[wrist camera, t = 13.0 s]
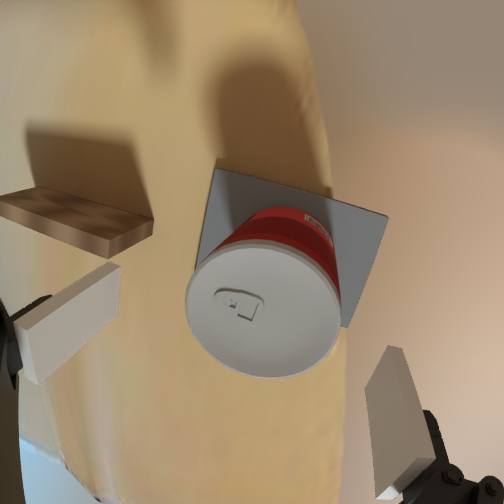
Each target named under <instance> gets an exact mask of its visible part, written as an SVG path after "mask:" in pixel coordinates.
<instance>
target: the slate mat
mask: <svg viewBox="0 0 504 504" xmlns="http://www.w3.org/2000/svg"><path fill="white" fill-rule="evenodd" d="M271 207H292V208H295V209H299V210H302V211H304V212H306V213H308V214H310V215H312V216H313V217H314V218H316V219H317V220H318V221H319V222H320V223H321V224H322V225H323V226H324V227H325V228H326V230H327V231H328V233H329V235H330V236H331V238H332V241H333V244H334V248H335V255H336V262H337V270H338V278H339V286H340V295H341V311H342V318H341V325H340V326H342V327H345V328H348V326H349V323H350V321H351V319H352V316H353V314H354V312H355V309H356V306H357V304H358V302H359V299H360V297H361V294H362V292H363V289H364V287H365V284H366V281H367V279H368V276H369V273H370V271H371V268H372V265H373V263H374V260H375V257H376V254H377V251H378V248H379V245H380V243H381V240H382V237H383V234H384V231H385V228H386V225H387V222H388V219H389V218H388V217H387V216H386V215H383V214H380V213H377V212H374V211H370V210H367V209H364V208H361V207H358V206H355V205H351V204H348V203H345V202H342V201H338V200H335V199H332V198H328V197H325V196H322V195H318V194H315V193H311V192H308V191H304V190H301V189H297V188H294V187H290V186H286V185H283V184H279V183H275V182H271V181H267V180H264V179H260V178H256V177H252V176H248V175H244V174H240V173H236V172H232V171H228V170H223V169H219V168H217V169H215V172H214V177H213V181H212V186H211V191H210V196H209V201H208V206H207V211H206V216H205V221H204V227H203V232H202V237H201V242H200V248H199V253H198V259H197V265H196V269H197V267H198V266H199V265H200V263H201V262H202V261H203V260H204V259H205V258H206V257H207V256H208V255H209V254H210V253H211V252H212V251H213V250H214V249H215V248H216V247H217V246H218V245H220V244H221V243H222V242H223V241H224V240H225V239H226V238H227V237H228V236H230V235H231V234H232V233H233V232H234V231H235V230H236V229H237V228H238V227H240V226H241V225H242V224H243V223H244V222H245V221H246V220H248V219H249V218H250V217H251V216H252V215H254V214H256V213H257V212H259V211H261V210H264V209H268V208H271Z"/></svg>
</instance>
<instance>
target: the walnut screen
mask: <svg viewBox="0 0 504 504" xmlns="http://www.w3.org/2000/svg"><path fill="white" fill-rule="evenodd" d="M0 216H2V217H4V218H7V219H9V220H11V221H14V222H16V223H18V224H21V225H23V226H25V227H28V228H30V229H32V230H35V231H37V232H40V233H42V234H45V235H47V236H50V237H52V238H54V239H57V240H59V241H62V242H64V243H67V244H70V245H72V246H75V247H77V248H80V249H82V250H85V251H87V252H90V253H93V254H95V255H98V256H101V257H103V258H106V259H109V258H111V257H113V256H115V255H116V254H118V253H120V252H122V251H124V250H126V249H127V248H129V247H131V246H133V245H135V244H136V243H138V242H140V241H142V240H144V239H146V238H148V237H149V236H151V235H152V231H153V223H154V219H150V218H147V217H143V216H140V215H136V214H133V213H130V212H126V211H123V210H119V209H116V208H112V207H109V206H105V205H102V204H98V203H95V202H91V201H88V200H84V199H81V198H77V197H74V196H70V195H67V194H63V193H60V192H56V191H53V190H49V189H46V188H42V187H34V188H30V189H26V190H22V191H17V192H13V193H9V194H5V195H2V196H0Z"/></svg>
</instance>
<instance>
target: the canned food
mask: <svg viewBox="0 0 504 504" xmlns="http://www.w3.org/2000/svg"><path fill="white" fill-rule="evenodd" d="M185 310H186V316H187V320H188V323H189V326H190V328H191V330H192V332H193V334H194V336H195V338H196V339H197V341H198V342H199V343H200V345H201V346H202V347H203V349H204V350H205V351H206V352H208V353H209V354H210V355H211V356H212V357H213V358H214V359H215V360H217V361H218V362H220V363H221V364H223V365H224V366H226V367H228V368H230V369H232V370H234V371H236V372H238V373H241V374H245V375H248V376H251V377H257V378H264V379H280V378H286V377H292V376H295V375H298V374H301V373H304V372H306V371H308V370H310V369H311V368H313V367H315V366H316V365H318V364H319V363H320V362H321V361H322V360H323V359H324V358H326V357H327V355H328V354H329V352H330V351H331V350H332V348H333V347H334V345H335V343H336V340H337V338H338V335H339V331H340V325H341V318H342V311H341V295H340V286H339V278H338V270H337V262H336V255H335V248H334V244H333V241H332V238H331V236H330V235H329V233H328V231H327V230H326V228H325V227H324V226H323V225H322V224H321V223H320V222H319V221H318V220H317V219H316V218H314V217H313V216H312V215H310V214H308V213H306V212H304V211H302V210H299V209H295V208H292V207H271V208H268V209H264V210H261V211H259V212H257V213H256V214H254V215H252V216H251V217H250V218H249V219H248V220H246V221H245V222H244V223H243V224H242V225H241V226H240V227H238V228H237V229H236V230H235V231H234V232H233V233H232V234H231V235H230V236H228V237H227V238H226V239H225V240H224V241H223V242H222V243H221V244H220V245H218V246H217V247H216V248H215V249H214V250H213V251H212V252H211V253H210V254H209V255H208V256H207V257H206V258H205V259H204V260H203V261H202V262H201V263H200V265H199V266H198V267H197V269H196V270H195V272H194V274H193V275H192V276H191V279H190V281H189V284H188V286H187V289H186V296H185Z"/></svg>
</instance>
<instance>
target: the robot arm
mask: <svg viewBox="0 0 504 504" xmlns="http://www.w3.org/2000/svg"><path fill="white" fill-rule="evenodd" d="M120 278H121V266H120V265H117V264H114V263H111V262H107V263H106V264H104V265H102V266H101V267H99V268H97V269H96V270H94V271H92V272H91V273H89V274H87V275H86V276H84V277H82V278H81V279H79V280H78V281H76V282H74V283H73V284H71V285H70V286H68V287H66V288H65V289H63V290H62V291H60V292H58V293H57V294H55V295H54V296H52V295H47V296H43V297H40V298H38V299H37V300H35V301H34V302H32V304H29V305H27V306H26V307H25V308H23V309H21V310H19V311H18V312H16V313H15V314H13V315H12V316H10V317H9V318H8V316H7V314H6V312H5V310H4V306H3V305H2V304H1V303H0V504H26V502H25V496H24V489H23V482H22V473H21V461H20V448H19V425H18V395H19V375H18V371H19V370H20V369H21V368H23V369H24V373H25V377H26V378H27V379H28V380H30V381H31V382H33V383H34V384H36V385H37V386H40V385H41V384H42V383H43V382H44V381H45V380H46V379H48V378H49V377H50V376H51V375H52V374H53V373H54V372H55V371H56V370H57V369H58V368H59V367H60V366H61V365H62V364H64V363H65V362H66V361H67V360H68V359H69V358H70V357H71V356H72V355H73V354H74V353H75V352H77V351H78V350H79V349H80V348H81V347H82V346H83V345H84V344H85V343H86V342H88V341H89V340H90V339H91V338H92V337H93V336H94V335H95V334H96V333H97V332H99V331H100V330H101V329H102V328H103V327H104V326H105V325H106V324H108V323H109V322H110V321H111V320H112V319H113V318H114V317H115V316H117V315H118V314H119V297H120ZM365 395H366V402H367V410H368V417H369V426H370V436H371V445H372V455H373V467H374V480H375V495H376V499H385V500H386V499H387V500H393V499H395V498H396V497H397V496H398V495H399V494H400V493H401V492H402V494H403V501H401V502H400V503H399V504H503V502H504V487H503V484H502V483H501V481H500V480H499V479H497V478H496V477H494V476H486V477H484V478H483V479H482V480H481V481H480V482H479V483H476V482H473V481H470V480H466V479H464V475H463V473H462V471H461V470H460V469H459V468H458V467H457V466H455V465H453V464H450V463H449V459H448V456H447V453H446V449H445V446H444V442H443V439H442V438H441V437H442V436H441V433H440V431H439V426H438V423H437V420H436V418H435V417H434V416H433V414H432V413H431V412H430V411H428V410H422V407H421V404H420V401H419V397H418V395H417V391H416V388H415V385H414V382H413V379H412V376H411V373H410V370H409V367H408V364H407V361H406V358H405V356H404V353H403V350H402V348H398V347H394V346H390V345H388V346H387V348H386V350H385V352H384V354H383V356H382V358H381V360H380V361H379V363H378V365H377V367H376V369H375V371H374V373H373V374H372V377H371V378H370V380H369V382H368V383H367V385H366V387H365Z"/></svg>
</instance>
